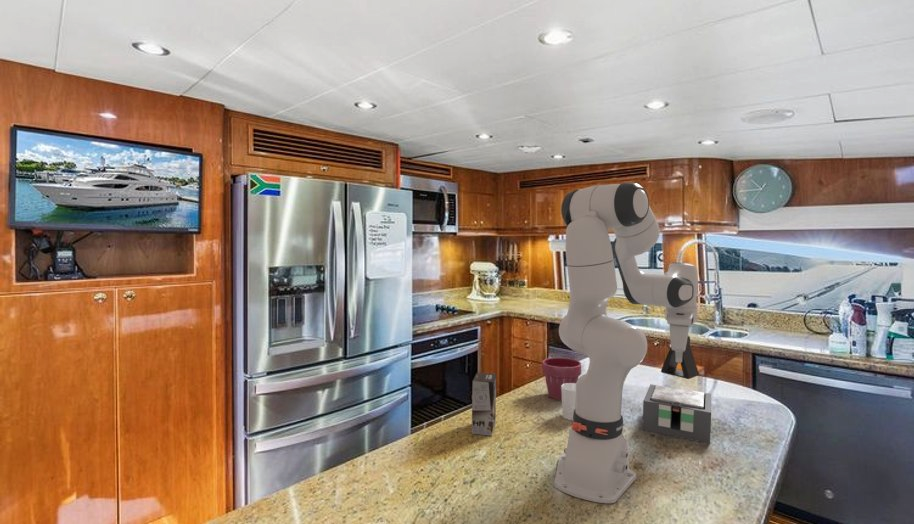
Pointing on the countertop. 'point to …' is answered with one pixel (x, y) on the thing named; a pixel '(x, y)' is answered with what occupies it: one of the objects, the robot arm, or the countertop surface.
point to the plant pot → (560, 374)
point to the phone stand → (687, 363)
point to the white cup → (568, 399)
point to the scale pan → (678, 397)
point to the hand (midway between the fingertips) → (679, 359)
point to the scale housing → (677, 418)
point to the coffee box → (484, 403)
